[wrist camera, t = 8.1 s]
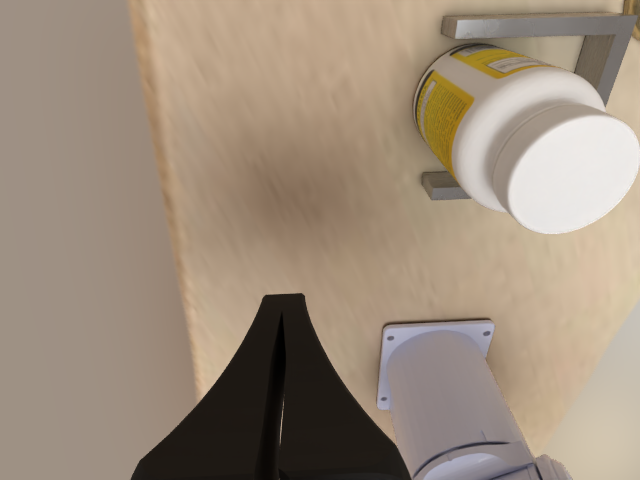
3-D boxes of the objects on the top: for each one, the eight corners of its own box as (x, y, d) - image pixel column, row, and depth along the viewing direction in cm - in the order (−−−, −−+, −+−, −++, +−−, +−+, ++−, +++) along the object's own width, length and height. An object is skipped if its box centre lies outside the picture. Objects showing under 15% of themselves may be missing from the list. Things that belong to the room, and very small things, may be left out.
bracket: (553, 178, 23) (574, 194, 22) (421, 184, 23) (431, 200, 21) (607, 11, 19) (638, 15, 17) (443, 16, 18) (457, 20, 17)
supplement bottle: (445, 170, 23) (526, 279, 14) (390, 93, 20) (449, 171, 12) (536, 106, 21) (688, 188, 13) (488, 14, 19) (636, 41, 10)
